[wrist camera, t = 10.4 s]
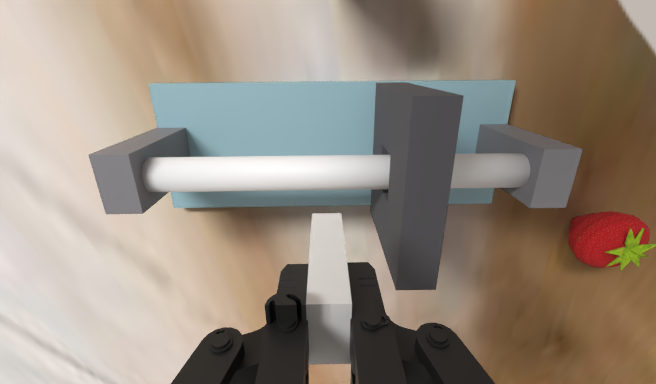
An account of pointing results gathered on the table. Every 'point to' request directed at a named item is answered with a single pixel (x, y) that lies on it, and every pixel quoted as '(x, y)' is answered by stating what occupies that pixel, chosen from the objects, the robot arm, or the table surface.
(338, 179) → the pipe stand
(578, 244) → the strawberry
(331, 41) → the table surface
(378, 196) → the dark grey square plate
